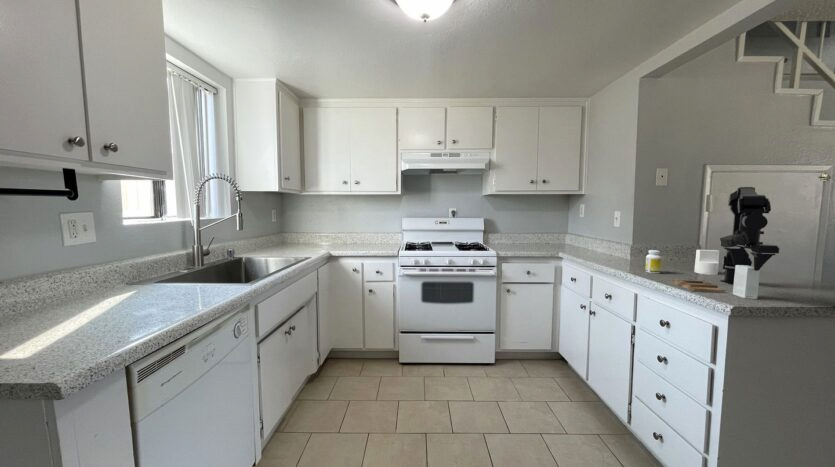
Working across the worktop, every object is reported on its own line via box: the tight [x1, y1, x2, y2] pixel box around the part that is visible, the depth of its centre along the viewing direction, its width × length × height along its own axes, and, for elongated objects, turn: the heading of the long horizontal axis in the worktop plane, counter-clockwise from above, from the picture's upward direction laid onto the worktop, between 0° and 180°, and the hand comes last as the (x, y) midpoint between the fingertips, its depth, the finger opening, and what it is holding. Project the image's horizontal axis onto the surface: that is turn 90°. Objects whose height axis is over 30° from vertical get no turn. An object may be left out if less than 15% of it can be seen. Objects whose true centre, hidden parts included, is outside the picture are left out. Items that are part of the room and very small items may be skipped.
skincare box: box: [732, 265, 761, 300], centre depth 121 cm, size 6×4×12 cm
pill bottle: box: [645, 249, 662, 274], centre depth 163 cm, size 6×6×12 cm
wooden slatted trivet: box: [672, 279, 725, 294], centre depth 134 cm, size 14×11×2 cm
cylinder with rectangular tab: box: [693, 249, 720, 276], centre depth 162 cm, size 9×9×12 cm
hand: (745, 268), depth 121 cm, fingers open, 9 cm apart
